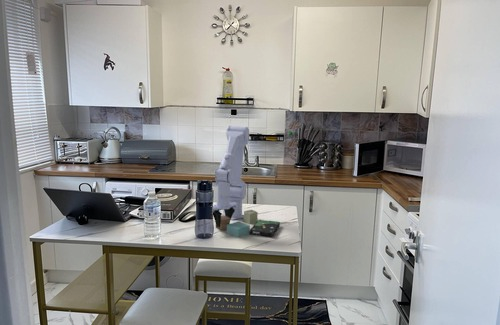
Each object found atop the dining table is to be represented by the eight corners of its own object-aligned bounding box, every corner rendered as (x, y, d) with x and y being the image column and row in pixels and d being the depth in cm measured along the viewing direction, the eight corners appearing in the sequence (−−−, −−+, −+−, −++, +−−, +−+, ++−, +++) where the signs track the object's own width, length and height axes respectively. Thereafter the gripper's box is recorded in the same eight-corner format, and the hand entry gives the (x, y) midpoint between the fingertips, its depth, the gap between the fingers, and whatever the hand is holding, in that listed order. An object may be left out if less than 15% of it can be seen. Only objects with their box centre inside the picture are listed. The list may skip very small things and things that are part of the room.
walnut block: (215, 227, 171) (215, 217, 170) (223, 225, 174) (224, 215, 173) (221, 230, 167) (221, 219, 166) (229, 228, 170) (229, 218, 169)
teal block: (226, 233, 165) (226, 224, 164) (238, 229, 170) (238, 221, 169) (237, 238, 160) (238, 229, 159) (249, 234, 165) (249, 225, 164)
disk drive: (272, 239, 161) (279, 227, 175) (273, 233, 161) (280, 221, 175) (249, 236, 164) (258, 224, 178) (249, 229, 164) (258, 218, 178)
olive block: (243, 221, 181) (244, 211, 180) (251, 219, 184) (251, 209, 183) (249, 224, 177) (250, 213, 176) (257, 222, 180) (257, 212, 179)
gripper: (214, 200, 160) (214, 231, 163) (241, 195, 169) (241, 224, 172) (205, 196, 166) (205, 226, 168) (232, 191, 175) (231, 220, 177)
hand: (222, 225), depth 170 cm, fingers closed on walnut block, 4 cm apart
